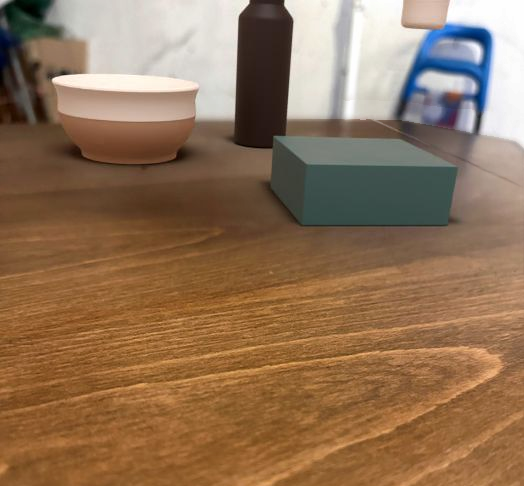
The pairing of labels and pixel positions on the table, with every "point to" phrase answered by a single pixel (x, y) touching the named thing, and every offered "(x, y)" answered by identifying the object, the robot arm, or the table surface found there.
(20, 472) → the table surface
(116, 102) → the bowl
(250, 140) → the bottle
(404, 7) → the drinking glass
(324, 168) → the stand
